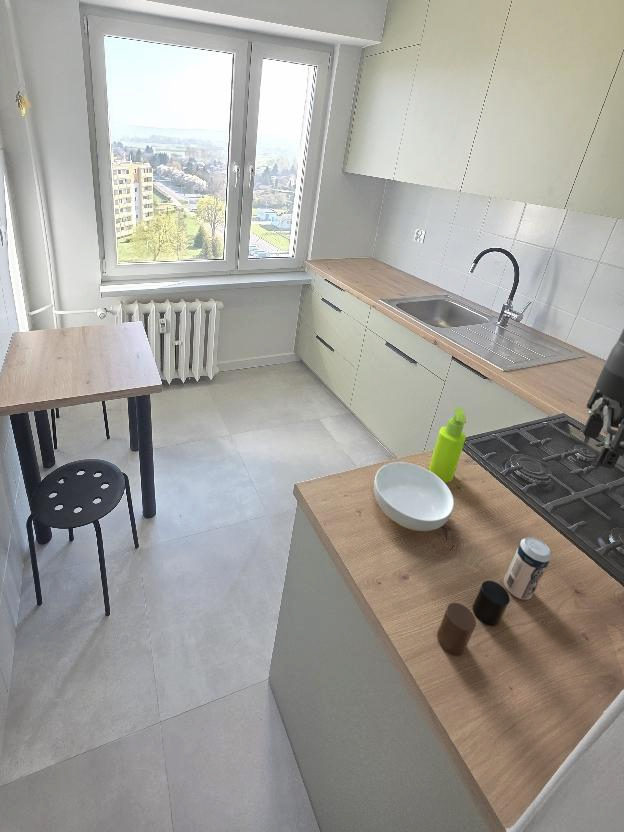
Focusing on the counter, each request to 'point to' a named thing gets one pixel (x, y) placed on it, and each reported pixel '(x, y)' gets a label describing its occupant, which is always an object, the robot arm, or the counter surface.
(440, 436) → the soap dispenser
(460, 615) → the walnut post
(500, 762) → the counter surface
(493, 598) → the black post
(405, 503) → the cereal bowl
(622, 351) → the robot arm
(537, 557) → the beer can
